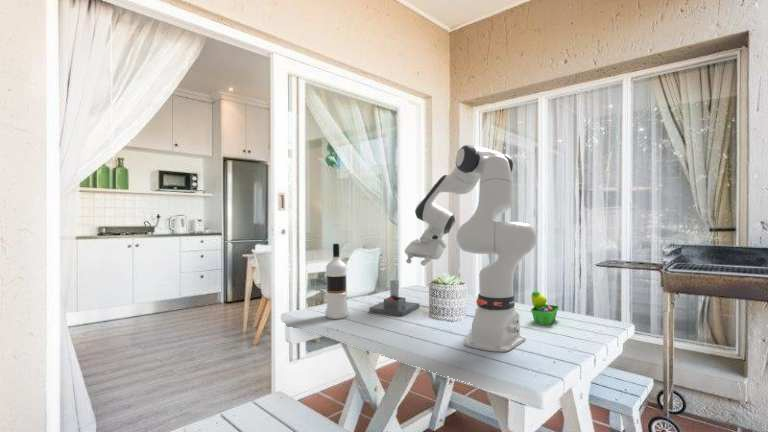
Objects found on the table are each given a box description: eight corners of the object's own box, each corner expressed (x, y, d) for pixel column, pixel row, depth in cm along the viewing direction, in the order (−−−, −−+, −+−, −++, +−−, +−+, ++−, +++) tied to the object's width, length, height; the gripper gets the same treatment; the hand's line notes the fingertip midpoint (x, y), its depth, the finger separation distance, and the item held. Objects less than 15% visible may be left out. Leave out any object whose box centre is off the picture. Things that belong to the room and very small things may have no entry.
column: (396, 306, 173) (396, 282, 173) (388, 305, 175) (388, 281, 175) (400, 304, 177) (400, 280, 176) (392, 303, 179) (392, 279, 178)
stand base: (402, 316, 165) (402, 302, 165) (369, 312, 173) (369, 298, 173) (419, 307, 179) (419, 294, 179) (387, 304, 187) (387, 291, 187)
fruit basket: (551, 326, 149) (551, 295, 149) (527, 322, 154) (526, 292, 154) (559, 319, 158) (559, 290, 158) (536, 315, 163) (536, 287, 163)
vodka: (336, 321, 160) (334, 245, 160) (321, 317, 166) (319, 243, 166) (353, 316, 167) (352, 243, 166) (338, 312, 173) (337, 242, 173)
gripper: (410, 235, 196) (396, 257, 190) (442, 237, 181) (427, 261, 175) (417, 243, 199) (403, 265, 193) (449, 246, 184) (434, 270, 178)
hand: (415, 263), depth 184 cm, fingers open, 8 cm apart
